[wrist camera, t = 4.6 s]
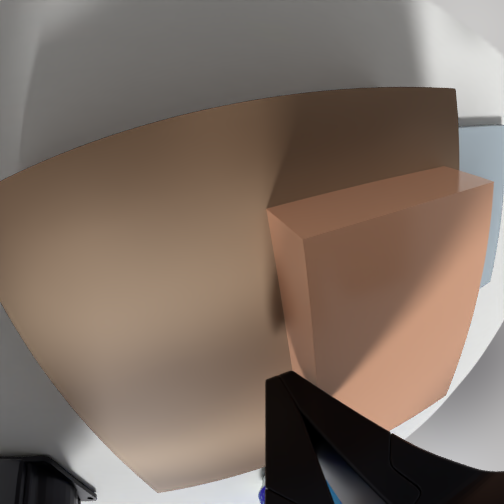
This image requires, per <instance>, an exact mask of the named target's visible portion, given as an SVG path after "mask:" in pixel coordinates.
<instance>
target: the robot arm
mask: <svg viewBox="0 0 504 504" xmlns="http://www.w3.org/2000/svg"><path fill="white" fill-rule="evenodd" d="M326 480H327V482H328V483H329V485H330V486H331V488H332V489H333V491H334V492H335V494H336V495H337V497H338V498H339V500H340V501H341V503H342V504H504V471H501V472H500V471H499V472H494V471H484V470H479V469H475V468H472V467H469V466H466V465H463V464H460V463H458V462H454V461H452V460H449V459H446V458H443V457H441V456H438V455H435V454H433V453H430V452H428V451H426V450H423V449H421V448H419V447H417V446H415V445H413V444H411V443H409V442H407V441H405V440H403V439H402V438H400V437H398V436H397V435H395V434H393V433H392V434H391V433H390V432H389V431H388V430H386V429H384V428H383V427H381V426H379V425H378V424H376V423H374V422H373V421H371V420H369V419H368V418H366V417H364V416H363V415H361V414H359V413H358V412H356V411H355V410H353V409H351V408H350V407H348V406H346V405H345V404H343V403H342V402H340V401H339V400H337V399H335V398H334V397H332V396H331V395H329V394H328V393H326V392H325V391H323V390H321V389H320V388H318V387H317V386H315V385H314V384H312V383H311V382H309V381H308V380H306V379H305V378H303V377H302V376H300V375H299V374H297V373H296V372H294V371H287V372H285V373H282V374H280V375H277V376H274V377H271V378H268V379H266V381H265V488H266V490H265V504H335V503H334V501H333V498H332V495H331V493H330V490H329V487H328V484H327V482H326ZM95 500H97V495H96V494H95V493H94V492H92V491H91V490H90V489H88V488H87V487H86V486H84V485H83V484H82V483H80V482H79V481H78V480H76V479H75V478H74V477H73V476H71V475H70V474H69V473H68V472H66V471H65V470H64V469H63V468H61V467H60V466H59V465H58V464H57V463H56V462H54V461H53V460H52V459H51V458H49V457H46V456H30V457H0V504H81V501H95Z"/></svg>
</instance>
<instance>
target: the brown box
mask: <svg viewBox="0 0 504 504" xmlns="http://www.w3.org/2000/svg"><path fill="white" fill-rule="evenodd" d="M443 166H446V167H449V168H453V169H456V170H459V127H458V112H457V100H456V90H455V89H453V88H432V87H378V88H356V89H341V90H328V91H318V92H308V93H299V94H291V95H284V96H277V97H270V98H263V99H257V100H251V101H246V102H240V103H235V104H230V105H224V106H220V107H215V108H210V109H205V110H201V111H197V112H192V113H188V114H184V115H180V116H176V117H172V118H168V119H165V120H161V121H157V122H154V123H150V124H147V125H143V126H140V127H136V128H133V129H130V130H127V131H124V132H120V133H117V134H114V135H111V136H108V137H105V138H102V139H99V140H97V141H94V142H91V143H88V144H85V145H83V146H80V147H77V148H75V149H72V150H70V151H67V152H64V153H62V154H59V155H57V156H55V157H52V158H50V159H47V160H45V161H43V162H40V163H38V164H36V165H34V166H31V167H29V168H27V169H25V170H22V171H20V172H18V173H16V174H14V175H12V176H10V177H8V178H6V179H4V180H2V181H0V302H1V304H2V305H3V307H4V309H5V311H6V313H7V314H8V316H9V318H10V320H11V321H12V323H13V325H14V326H15V328H16V330H17V331H18V333H19V335H20V336H21V338H22V340H23V341H24V343H25V344H26V346H27V347H28V349H29V350H30V352H31V353H32V355H33V356H34V358H35V359H36V361H37V362H38V364H39V365H40V367H41V368H42V369H43V371H44V372H45V374H46V375H47V376H48V378H49V379H50V380H51V382H52V383H53V384H54V386H55V387H56V388H57V390H58V391H59V392H60V393H61V395H62V396H63V397H64V398H65V400H66V401H67V402H68V403H69V405H70V406H71V407H72V408H73V409H74V411H75V412H76V413H77V414H78V415H79V417H80V418H81V419H82V420H83V421H84V422H85V423H86V424H87V426H88V427H89V428H90V429H91V430H92V431H93V432H94V433H95V434H96V435H97V437H98V438H99V439H100V440H101V441H102V442H103V443H104V444H105V445H106V446H107V447H108V448H109V449H110V450H111V451H112V452H113V453H114V454H115V455H116V456H117V457H118V458H119V459H120V460H121V461H122V462H123V463H124V464H125V465H127V466H128V467H129V468H130V469H131V470H132V471H133V472H134V473H135V474H136V475H137V476H139V477H140V478H141V479H142V480H143V481H144V482H145V483H147V484H148V485H149V486H150V487H151V488H152V489H154V490H155V491H156V492H157V493H161V492H167V491H172V490H178V489H183V488H188V487H192V486H197V485H201V484H206V483H210V482H214V481H218V480H222V479H225V478H229V477H233V476H236V475H240V474H243V473H247V472H250V471H253V470H256V469H259V468H262V467H265V381H266V379H268V378H271V377H274V376H277V375H280V374H282V373H285V372H287V371H292V364H291V358H290V351H289V345H288V338H287V332H286V325H285V319H284V313H283V306H282V300H281V294H280V288H279V282H278V275H277V269H276V263H275V257H274V251H273V245H272V240H271V234H270V228H269V222H268V216H267V211H266V209H267V208H271V207H275V206H278V205H282V204H286V203H290V202H294V201H298V200H302V199H305V198H309V197H313V196H317V195H321V194H325V193H329V192H333V191H337V190H341V189H346V188H350V187H354V186H358V185H362V184H366V183H371V182H375V181H379V180H384V179H388V178H392V177H397V176H401V175H406V174H410V173H415V172H419V171H424V170H429V169H433V168H438V167H443Z"/></svg>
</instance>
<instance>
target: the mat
mask: <svg viewBox="0 0 504 504" xmlns="http://www.w3.org/2000/svg"><path fill="white" fill-rule="evenodd" d="M459 170H460V171H463V172H466V173H469V174H472V175H476V176H479V177H482V178H485V179H488V180H491V181H494V189H493V202H492V213H491V222H490V230H489V238H488V244H487V251H486V257H485V263H484V268H483V273H482V278H481V283H480V287H479V289H480V288H481V287H483V286H484V285H486V284H487V283H489V282H490V280H491V275H492V270H493V265H494V260H495V255H496V249H497V243H498V237H499V230H500V222H501V214H502V205H503V194H504V125H482V126H465V127H459Z"/></svg>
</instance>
